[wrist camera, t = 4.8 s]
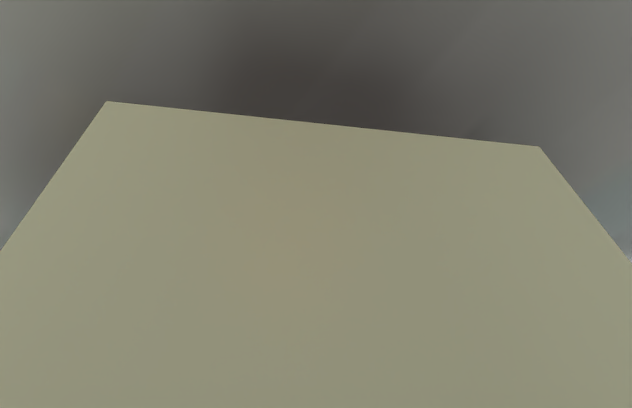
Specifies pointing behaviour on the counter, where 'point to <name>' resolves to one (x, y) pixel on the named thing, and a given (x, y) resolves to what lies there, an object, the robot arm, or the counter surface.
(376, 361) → the sage green cuboid
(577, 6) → the counter surface
